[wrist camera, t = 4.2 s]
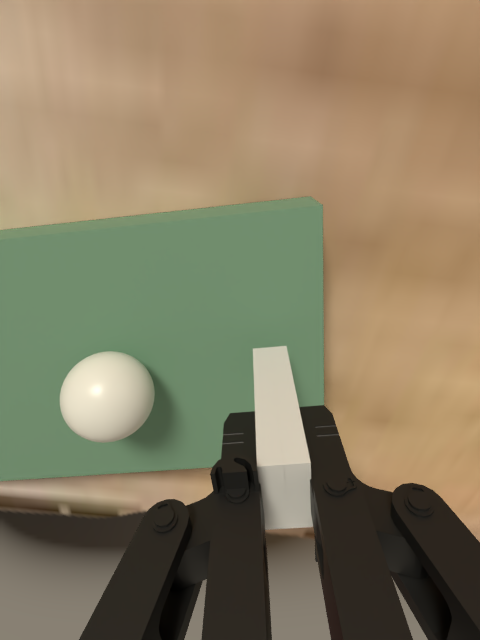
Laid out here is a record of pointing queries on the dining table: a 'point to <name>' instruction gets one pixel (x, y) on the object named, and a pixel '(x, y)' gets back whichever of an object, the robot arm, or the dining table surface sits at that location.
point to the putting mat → (155, 327)
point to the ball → (107, 396)
